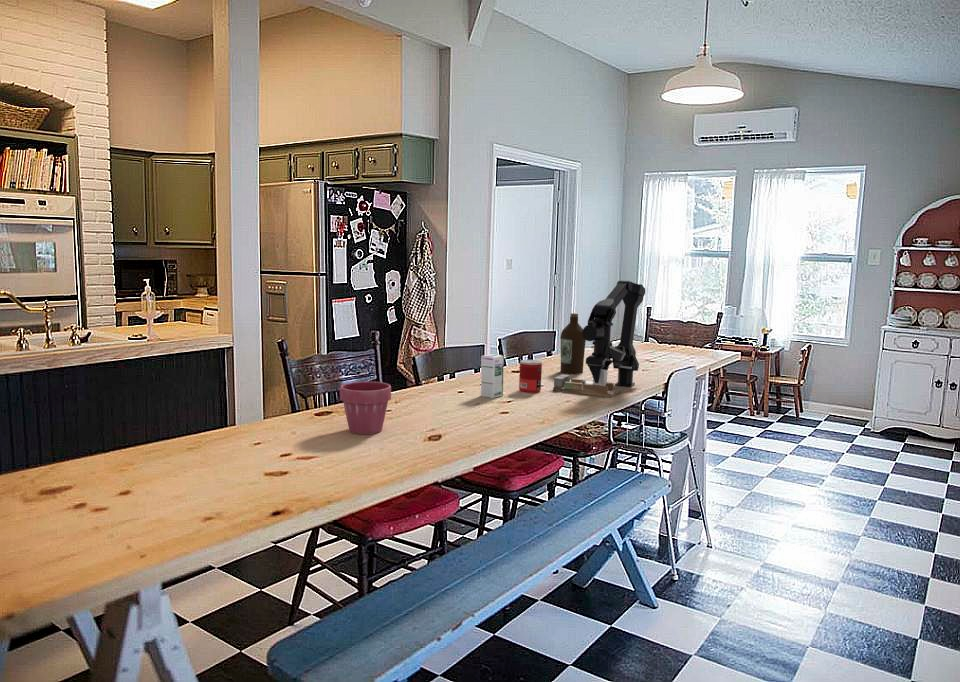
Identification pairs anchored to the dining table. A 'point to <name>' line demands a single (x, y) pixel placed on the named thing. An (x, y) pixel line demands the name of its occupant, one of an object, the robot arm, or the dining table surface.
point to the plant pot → (365, 405)
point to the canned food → (530, 376)
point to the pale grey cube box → (601, 380)
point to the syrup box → (492, 375)
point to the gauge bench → (583, 387)
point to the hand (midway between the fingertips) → (600, 381)
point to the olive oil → (572, 347)
